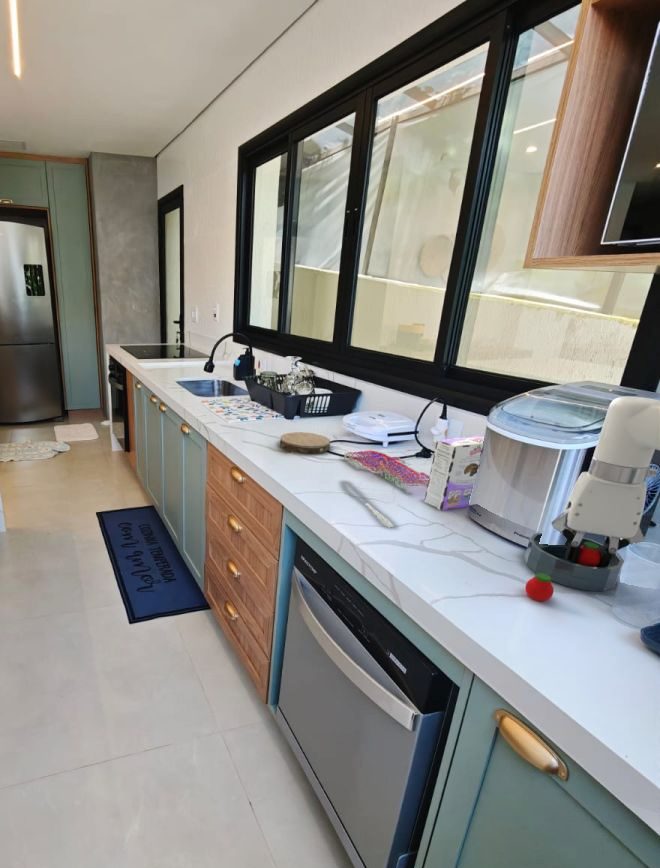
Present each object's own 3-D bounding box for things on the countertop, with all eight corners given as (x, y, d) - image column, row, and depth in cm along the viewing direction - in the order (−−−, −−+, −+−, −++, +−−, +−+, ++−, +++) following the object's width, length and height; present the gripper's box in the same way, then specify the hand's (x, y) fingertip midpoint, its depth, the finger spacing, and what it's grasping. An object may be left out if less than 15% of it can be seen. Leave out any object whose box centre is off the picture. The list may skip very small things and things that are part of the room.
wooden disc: (269, 445, 165) (270, 436, 164) (303, 438, 174) (304, 429, 173) (305, 458, 154) (306, 449, 152) (339, 450, 163) (340, 441, 161)
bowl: (601, 563, 98) (610, 540, 96) (625, 601, 86) (635, 576, 84) (519, 548, 103) (525, 526, 101) (530, 582, 91) (537, 557, 89)
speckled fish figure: (448, 494, 129) (452, 475, 127) (396, 498, 126) (400, 478, 124) (385, 458, 156) (387, 441, 154) (340, 460, 153) (342, 443, 151)
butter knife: (382, 526, 109) (396, 525, 109) (338, 483, 134) (349, 482, 134) (382, 529, 109) (395, 528, 109) (338, 485, 134) (349, 484, 134)
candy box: (465, 496, 128) (480, 434, 122) (484, 505, 123) (501, 441, 117) (422, 502, 124) (435, 438, 118) (440, 512, 119) (455, 445, 113)
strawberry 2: (594, 564, 93) (601, 542, 91) (600, 574, 89) (608, 551, 88) (568, 559, 94) (575, 537, 92) (573, 569, 91) (581, 547, 89)
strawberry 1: (538, 592, 88) (545, 569, 86) (555, 605, 84) (563, 582, 83) (517, 593, 87) (524, 570, 86) (533, 606, 84) (541, 583, 82)
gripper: (668, 472, 85) (632, 566, 92) (555, 458, 91) (529, 548, 98) (687, 486, 79) (647, 587, 85) (564, 470, 85) (535, 565, 91)
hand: (584, 565), depth 92 cm, fingers closed on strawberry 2, 3 cm apart
